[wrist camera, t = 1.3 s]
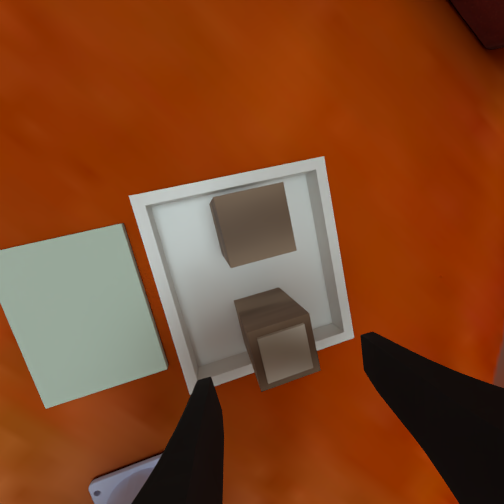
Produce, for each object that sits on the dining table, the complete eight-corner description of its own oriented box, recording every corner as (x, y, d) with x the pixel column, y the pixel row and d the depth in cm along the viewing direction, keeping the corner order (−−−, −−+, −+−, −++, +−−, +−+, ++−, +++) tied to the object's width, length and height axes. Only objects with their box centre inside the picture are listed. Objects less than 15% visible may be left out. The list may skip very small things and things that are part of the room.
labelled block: (288, 329, 22) (322, 372, 16) (244, 343, 21) (262, 393, 15) (279, 287, 21) (310, 314, 15) (233, 300, 20) (247, 334, 14)
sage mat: (168, 364, 20) (167, 369, 20) (50, 402, 19) (45, 408, 18) (123, 223, 18) (121, 223, 18) (-13, 253, 17) (-21, 254, 16)
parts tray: (338, 325, 23) (354, 337, 21) (191, 374, 21) (189, 394, 19) (309, 163, 21) (323, 156, 18) (138, 199, 18) (128, 195, 16)
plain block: (269, 241, 20) (296, 250, 14) (221, 254, 20) (230, 268, 14) (258, 193, 20) (283, 181, 14) (209, 204, 19) (213, 196, 13)
